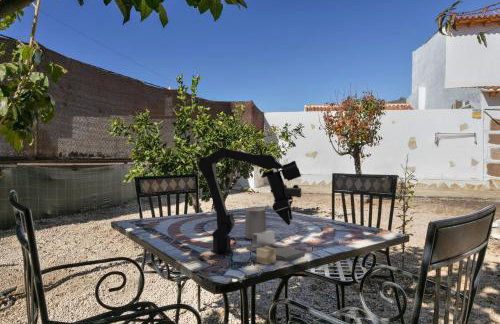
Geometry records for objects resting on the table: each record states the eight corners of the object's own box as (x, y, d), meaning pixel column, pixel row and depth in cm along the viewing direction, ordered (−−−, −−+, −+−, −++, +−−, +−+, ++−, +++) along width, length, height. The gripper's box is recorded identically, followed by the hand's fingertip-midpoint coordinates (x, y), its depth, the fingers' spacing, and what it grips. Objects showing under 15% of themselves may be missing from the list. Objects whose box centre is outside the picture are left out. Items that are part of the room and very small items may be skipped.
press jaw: (257, 247, 145) (256, 235, 145) (252, 246, 147) (252, 233, 147) (274, 243, 152) (274, 231, 152) (269, 241, 154) (269, 230, 154)
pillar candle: (255, 234, 178) (255, 203, 177) (270, 237, 171) (269, 205, 170) (241, 237, 171) (240, 206, 171) (255, 241, 164) (255, 208, 164)
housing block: (266, 265, 129) (266, 251, 129) (256, 261, 133) (256, 248, 133) (275, 262, 132) (275, 248, 132) (266, 259, 136) (266, 246, 136)
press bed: (285, 261, 133) (285, 256, 133) (245, 249, 150) (245, 245, 150) (304, 255, 140) (304, 251, 140) (264, 244, 157) (264, 240, 157)
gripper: (294, 180, 132) (308, 221, 132) (297, 176, 150) (310, 211, 150) (266, 190, 134) (280, 229, 134) (272, 184, 153) (285, 219, 152)
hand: (290, 222), depth 143 cm, fingers open, 9 cm apart
